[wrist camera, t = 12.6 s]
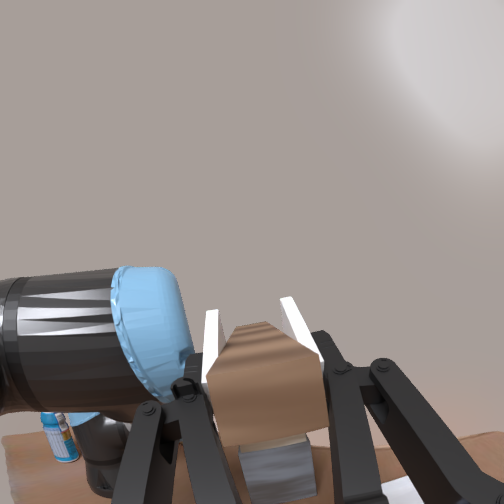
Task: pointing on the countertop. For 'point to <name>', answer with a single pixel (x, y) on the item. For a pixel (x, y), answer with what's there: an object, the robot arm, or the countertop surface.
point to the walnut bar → (266, 387)
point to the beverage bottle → (59, 436)
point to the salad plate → (401, 491)
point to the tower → (278, 469)
